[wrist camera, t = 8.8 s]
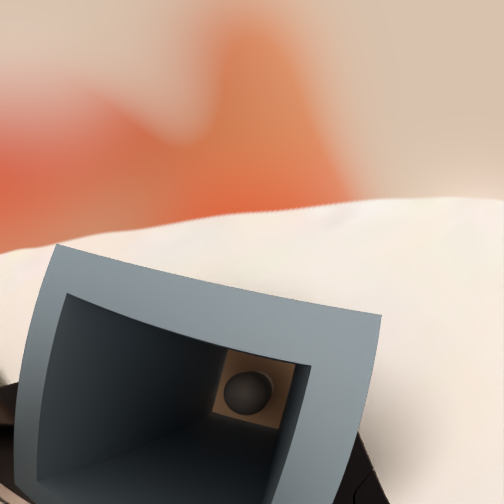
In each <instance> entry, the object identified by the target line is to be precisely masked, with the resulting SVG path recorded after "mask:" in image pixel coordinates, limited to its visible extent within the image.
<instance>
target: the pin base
mask: <svg viewBox="0 0 504 504" xmlns="http://www.w3.org/2000/svg"><path fill="white" fill-rule="evenodd" d="M294 368H295V364H290V363H285V362H281V361H276V360H271V359H267V358H262V357H258V356H254V355H249V354H245V353H241V352H237V351H233V350H229V349H228V353H227V356H226V360H225V364H224V368H223V372H222V376H221V379H220V383H219V387H218V391H217V395H216V399H215V402H214V406H213V410H212V412H215V413H219V414H222V415H225V416H229V417H232V418H236V419H240V420H244V421H248V422H252V423H256V424H260V425H264V426H269V427H273V428H278V429H279V426H280V422H281V419H282V415H283V411H284V408H285V404H286V400H287V396H288V392H289V388H290V384H291V380H292V376H293V372H294Z"/></svg>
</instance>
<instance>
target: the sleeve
mask: <svg viewBox="0 0 504 504" xmlns="http://www.w3.org/2000/svg"><path fill="white" fill-rule="evenodd" d="M381 317H382V315H379V314H372V313H366V312H360V311H354V310H348V309H342V308H337V307H331V306H325V305H320V304H314V303H309V302H304V301H298V300H293V299H288V298H283V297H278V296H273V295H268V294H263V293H258V292H253V291H248V290H243V289H238V288H234V287H229V286H224V285H220V284H215V283H211V282H206V281H202V280H197V279H193V278H189V277H184V276H180V275H176V274H171V273H167V272H163V271H159V270H155V269H150V268H146V267H142V266H138V265H134V264H130V263H126V262H122V261H119V260H115V259H111V258H107V257H103V256H99V255H96V254H92V253H88V252H84V251H81V250H77V249H74V248H70V247H66V246H63V245H59V244H56V247H55V249H54V252H53V254H52V257H51V260H50V262H49V265H48V268H47V271H46V273H45V276H44V279H43V282H42V285H41V288H40V292H39V295H38V298H37V301H36V305H35V308H34V312H33V316H32V319H31V323H30V327H29V331H28V336H27V340H26V345H25V349H24V354H23V359H22V365H21V371H20V377H19V384H18V392H17V400H16V411H15V424H14V478H15V485H16V486H17V487H18V488H19V489H20V490H21V491H22V492H23V493H24V494H26V495H27V496H28V497H29V498H30V499H31V500H32V501H33V502H34V503H35V504H332V503H333V501H334V498H335V496H336V493H337V491H338V488H339V485H340V483H341V480H342V477H343V475H344V472H345V469H346V466H347V463H348V460H349V457H350V454H351V451H352V448H353V445H354V442H355V438H356V435H357V431H358V428H359V424H360V421H361V417H362V413H363V409H364V405H365V401H366V397H367V393H368V389H369V384H370V380H371V375H372V370H373V365H374V360H375V355H376V349H377V343H378V337H379V331H380V324H381ZM228 349H229V350H233V351H237V352H241V353H245V354H249V355H254V356H258V357H262V358H267V359H271V360H276V361H281V362H285V363H290V364H295V368H294V372H293V376H292V380H291V384H290V388H289V392H288V396H287V400H286V404H285V408H284V411H283V415H282V419H281V422H280V426H279V429H278V428H273V427H269V426H264V425H260V424H256V423H252V422H248V421H244V420H240V419H236V418H232V417H229V416H225V415H222V414H219V413H215V412H212V410H213V406H214V402H215V399H216V395H217V391H218V387H219V383H220V379H221V376H222V372H223V368H224V364H225V360H226V356H227V353H228Z"/></svg>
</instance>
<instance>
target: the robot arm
mask: <svg viewBox="0 0 504 504" xmlns="http://www.w3.org/2000/svg"><path fill="white" fill-rule="evenodd" d="M18 384H19V382H17V383H13V384H10V385H6V386H2V387H0V504H35V503H34V502H33V501H32V500H31V499H30V498H29V497H28V496H27V495H26V494H24V493H23V492H22V491H21V490H20V489H19V488H18V487H17V486H16V485H15V478H14V424H15V411H16V400H17V392H18ZM332 504H390V503H389V501H388V499H387V497H386V496H385V493H384V491H383V489H382V487H381V484H380V482H379V480H378V477H377V475H376V473H375V470H373V466H372V463H371V461H370V458H369V456H368V454H367V451H366V449H365V446H364V444H363V442H362V439H361V437H360V435H359V432H358V431H357V435H356V438H355V442H354V445H353V448H352V451H351V454H350V457H349V460H348V463H347V466H346V469H345V472H344V475H343V477H342V480H341V483H340V485H339V488H338V491H337V493H336V496H335V498H334V501H333V503H332Z"/></svg>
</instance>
